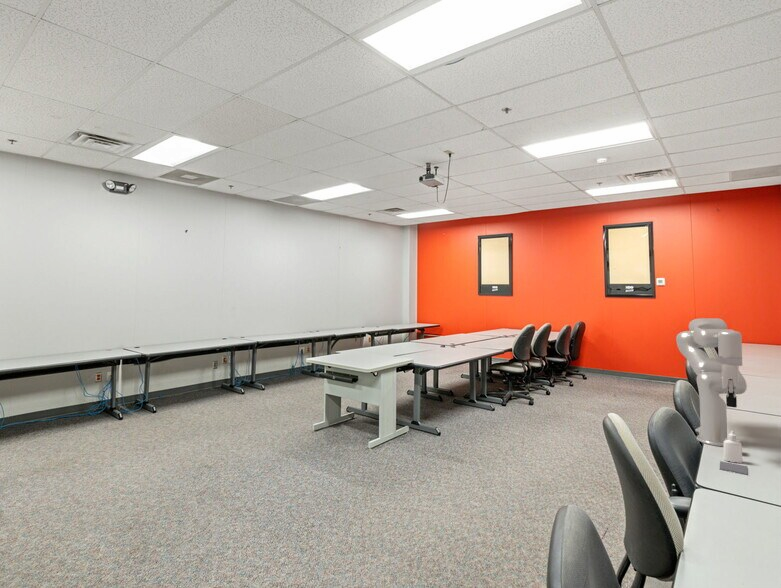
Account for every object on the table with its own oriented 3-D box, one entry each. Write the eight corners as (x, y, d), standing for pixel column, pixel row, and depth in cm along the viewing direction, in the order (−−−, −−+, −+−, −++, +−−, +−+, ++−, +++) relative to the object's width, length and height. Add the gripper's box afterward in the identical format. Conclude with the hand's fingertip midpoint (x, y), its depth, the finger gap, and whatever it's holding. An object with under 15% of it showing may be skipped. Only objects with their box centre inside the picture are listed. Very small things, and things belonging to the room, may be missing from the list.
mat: (720, 462, 162) (720, 461, 162) (746, 467, 157) (746, 466, 157) (719, 469, 156) (719, 468, 156) (747, 475, 150) (747, 473, 150)
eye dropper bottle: (741, 464, 160) (740, 434, 160) (722, 460, 164) (722, 430, 164) (743, 461, 162) (742, 431, 163) (725, 458, 167) (724, 428, 167)
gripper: (719, 358, 176) (720, 400, 176) (718, 362, 164) (719, 408, 164) (742, 359, 171) (743, 403, 171) (742, 364, 159) (744, 411, 159)
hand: (731, 405), depth 167 cm, fingers open, 2 cm apart
